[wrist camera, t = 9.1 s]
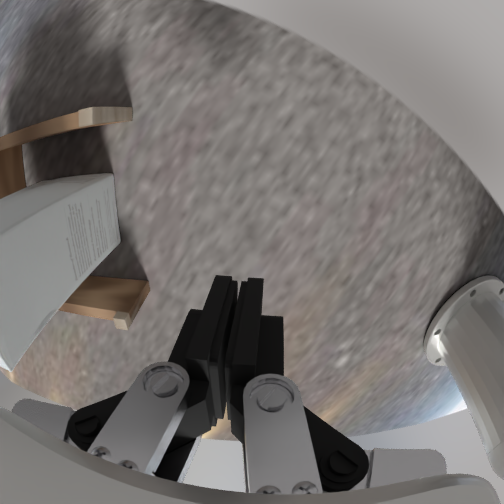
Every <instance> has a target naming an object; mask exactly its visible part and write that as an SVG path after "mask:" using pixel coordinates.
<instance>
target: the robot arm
mask: <svg viewBox="0 0 504 504" xmlns="http://www.w3.org/2000/svg"><path fill="white" fill-rule="evenodd" d="M263 282H264V279H262V278H248V281H247V282H246V281H242V283H241V287H240V292H239V296H238V301H237V293H238V283H237V281H232V276H220V275H216V276H215V279H214V281H213V284H212V287H211V289H210V292H209V294H208V297H207V300H206V302H205V305H204V308H203V310H196V309H191V310H190V311H189V313H188V315H187V317H186V320H185V322H184V324H183V327H182V329H181V331H180V334H179V336H178V339H177V341H176V343H175V346H174V348H173V350H172V353H171V355H170V358H169V360H168V362H157V363H154V364H151V365H149V366H147V367H146V368H144V369H143V370H142V371H141V373H140V374H139V375H138V377H137V378H136V380H135V381H134V382H133V384H132V385H131V387H130V388H129V390H128V391H125V392H123V393H120V394H118V395H115V396H113V397H110V398H108V399H105V400H102V401H100V402H97V403H95V404H92V405H89V406H86V407H84V408H81V409H79V410H77V411H74V410H73V409H72V408H70V407H65V406H59V405H54V404H49V403H45V402H40V401H36V400H32V399H22V400H20V401H18V402H17V403H16V404H15V406H14V407H13V409H12V412H11V411H9V410H7V409H5V408H3V407H1V406H0V504H501V503H500V501H499V498H498V495H497V493H496V491H495V489H494V488H493V486H492V485H491V484H490V483H489V482H488V481H487V480H485V479H484V478H481V477H479V476H473V475H468V474H446V462H445V458H444V457H443V456H442V454H441V453H439V452H438V451H436V450H431V449H416V450H413V449H408V450H407V449H380V448H374V449H373V450H363V449H362V448H361V447H360V446H359V445H357V444H356V443H354V442H352V441H351V440H350V439H348V438H347V437H345V436H344V435H343V434H341V433H340V432H338V431H337V430H335V429H334V428H333V427H331V426H330V425H329V424H327V423H326V422H324V421H323V420H322V419H320V418H319V417H318V416H316V415H315V414H314V413H312V412H311V411H310V410H308V409H307V408H306V407H305V406H303V402H302V398H301V394H300V391H299V389H298V386H297V385H296V384H295V383H294V382H293V381H292V380H290V379H289V378H287V377H285V376H284V335H283V317H281V316H265V315H261V313H262V298H263ZM424 352H425V354H426V356H427V358H428V360H429V361H430V362H431V363H432V364H434V365H437V366H447V367H448V369H449V371H450V373H451V375H452V376H453V378H454V380H455V382H456V384H457V386H458V388H459V390H460V392H461V394H462V397H463V399H464V401H465V403H466V405H467V407H468V409H469V412H470V414H471V416H472V418H473V421H474V423H475V425H476V428H477V430H478V433H479V435H480V437H481V440H482V443H483V445H484V448H485V450H486V453H487V456H488V459H489V462H490V465H491V467H492V469H493V471H494V472H495V473H496V474H497V475H498V476H499V477H500V478H502V479H503V480H504V283H503V282H502V281H501V280H500V279H498V278H497V277H495V276H482V277H479V278H477V279H475V280H473V281H470V282H469V283H467V284H466V285H464V286H463V287H462V288H460V289H459V290H458V291H457V292H456V293H454V294H453V295H452V296H451V297H450V298H449V300H448V301H447V302H446V303H445V304H444V305H443V306H442V308H441V309H440V310H439V311H438V313H437V314H436V316H435V317H434V319H433V320H432V322H431V324H430V326H429V328H428V330H427V333H426V336H425V340H424ZM226 402H227V413H228V420H231V432H232V434H233V435H234V436H235V437H236V438H237V439H238V440H239V441H240V442H241V443H242V448H243V462H244V463H243V464H244V478H245V493H244V492H234V491H225V490H218V489H211V488H205V487H199V486H194V485H188V484H184V483H183V480H184V478H185V476H186V473H187V471H188V469H189V467H190V464H191V462H192V460H193V457H194V455H195V453H196V450H197V448H198V446H199V443H200V441H201V437H202V434H204V433H206V432H208V431H210V430H211V426H216V423H217V418H219V419H223V418H224V413H225V407H226Z"/></svg>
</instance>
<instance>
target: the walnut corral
mask: <svg viewBox="0 0 504 504" xmlns="http://www.w3.org/2000/svg"><path fill="white" fill-rule="evenodd" d="M126 121H132V107H90V108H85V109H81V110H79V112H75V113H71V114H67V115H64V116H60V117H57V118H53V119H50V120H47V121H43V122H40V123H37V124H34V125H31V126H28V127H25V128H23V129H20V130H17V131H15V132H12V133H9V134H7V135H4V136H2V137H0V199H2V198H4V197H6V196H8V195H10V194H13V193H15V192H17V191H19V190H21V189H24V188H26V183H25V175H24V167H23V157H22V144H25V143H28V142H31V141H35V140H38V139H42V138H46V137H49V136H53V135H57V134H62V133H66V132H70V131H75V130H79V129H84V128H89V127H95V126H100V125H106V124H112V123H119V122H126ZM149 292H150V287H149V282H148V281H144V280H132V279H121V278H111V277H101V276H91V275H89V276H88V277H87V278H86V279H85V280H84V281H83V282H82V283H81V284H80V285H79V287H78V288H77V289H76V290H75V291H74V292H73V293H72V294H71V296H70V297H69V298H68V299H67V300H66V301H65V303H64V304H63V305H62V306H61V307H60V308H59V310H60V311H65V312H70V313H75V314H80V315H85V316H90V317H96V318H102V319H108V320H114V323H115V326H116V328H118V329H124V330H128V329H129V327H130V325H131V324H132V322H133V320H134V318H135V316H136V315H137V313H138V311H139V309H140V307H141V306H142V304H143V302H144V300H145V299H146V297H147V295H148V293H149Z"/></svg>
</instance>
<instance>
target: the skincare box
mask: <svg viewBox="0 0 504 504" xmlns="http://www.w3.org/2000/svg"><path fill="white" fill-rule="evenodd" d="M120 242H121V240H120V232H119V224H118V216H117V207H116V197H115V186H114V175H113V174H112V173H102V174H90V175H79V176H71V177H63V178H57V179H54V180H44V181H41V182H38V183H36V184H33V185H31V186H28V187H26V188H24V189H21V190H19V191H17V192H15V193H13V194H10V195H8V196H6V197H4V198H2V199H0V366H1V367H3V368H5V369H7V370H8V371H10V372H12V371H13V369H14V367H15V366H16V364H17V363H18V362H19V360H20V359H21V357H22V356H23V354H24V353H25V352H26V350H27V349H28V348H29V346H30V345H31V344H32V342H33V341H34V340H35V338H36V337H37V336H38V334H39V333H40V331H41V330H42V329H43V328H44V326H45V325H46V324H47V323H48V321H49V320H50V319H51V318H52V317H53V315H54V314H55V313H56V312H57V311H58V310H59V308H60V307H61V306H62V305H63V304H64V303H65V301H66V300H67V299H68V298H69V297H70V296H71V294H72V293H73V292H74V291H75V290H76V289H77V288H78V287H79V285H80V284H81V283H82V282H83V281H84V280H85V279H86V278H87V277H88V276H89V274H90V273H91V272H92V271H93V270H94V269H95V268H96V267H97V266H98V265H99V264H100V263H101V262H102V261H103V260H104V259H105V258H106V257H107V256H108V255H109V254H110V253H111V252H112V250H113V249H114V248H115V247H116V246H117V245H118V244H119V243H120Z"/></svg>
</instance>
